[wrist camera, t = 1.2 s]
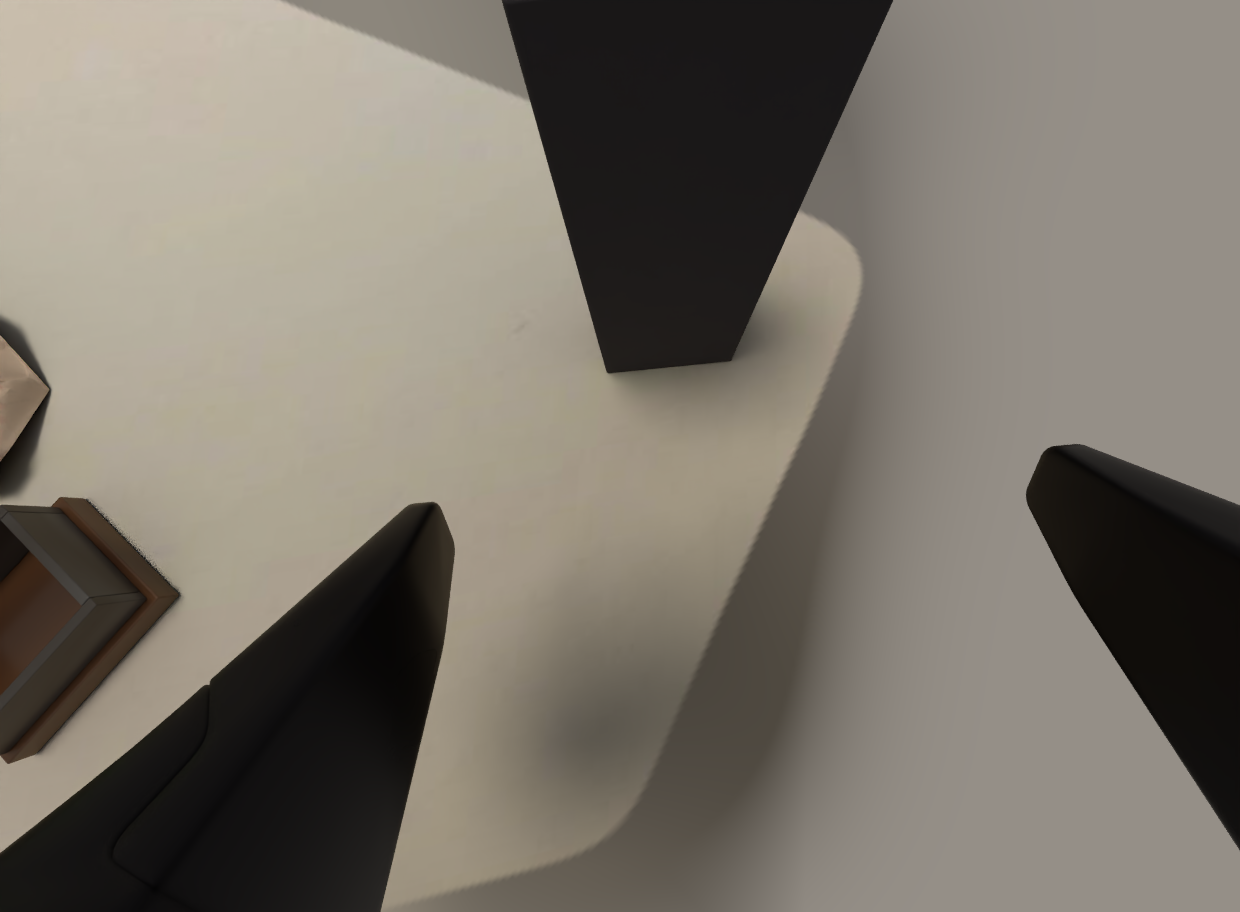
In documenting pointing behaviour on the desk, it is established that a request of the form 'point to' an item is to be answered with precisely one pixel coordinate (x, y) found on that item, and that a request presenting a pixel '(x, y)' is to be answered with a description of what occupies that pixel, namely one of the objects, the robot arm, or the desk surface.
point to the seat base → (64, 614)
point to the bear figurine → (16, 395)
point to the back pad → (684, 151)
